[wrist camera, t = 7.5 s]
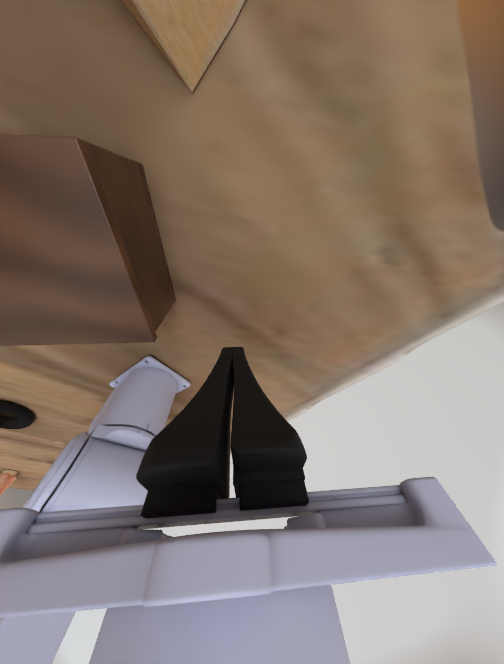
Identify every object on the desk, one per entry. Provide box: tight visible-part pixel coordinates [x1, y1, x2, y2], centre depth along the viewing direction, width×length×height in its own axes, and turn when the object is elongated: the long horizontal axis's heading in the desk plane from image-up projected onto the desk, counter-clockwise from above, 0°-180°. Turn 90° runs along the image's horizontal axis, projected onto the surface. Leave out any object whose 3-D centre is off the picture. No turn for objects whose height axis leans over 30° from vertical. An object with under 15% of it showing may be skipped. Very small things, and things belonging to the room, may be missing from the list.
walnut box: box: [86, 142, 176, 331], centre depth 14 cm, size 12×14×6 cm
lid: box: [0, 134, 157, 346], centre depth 12 cm, size 12×14×1 cm
